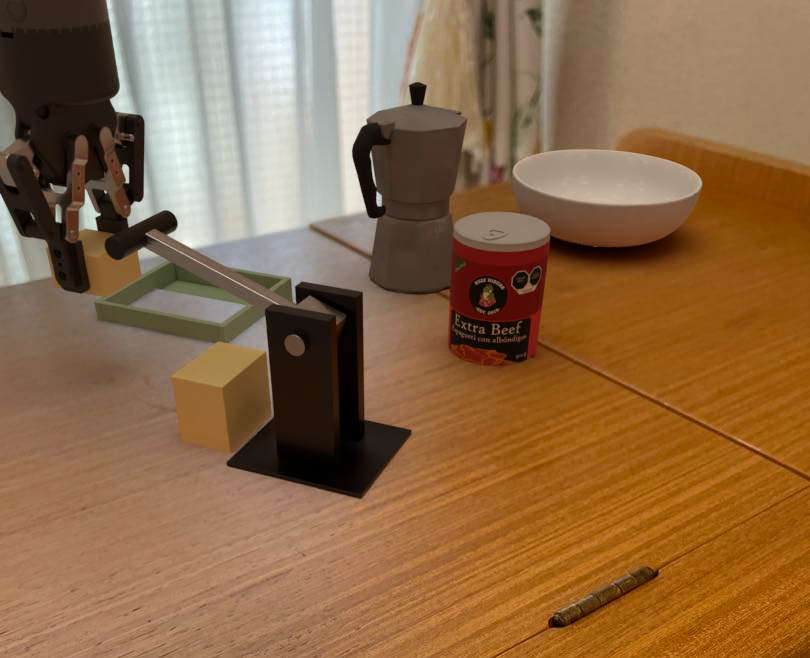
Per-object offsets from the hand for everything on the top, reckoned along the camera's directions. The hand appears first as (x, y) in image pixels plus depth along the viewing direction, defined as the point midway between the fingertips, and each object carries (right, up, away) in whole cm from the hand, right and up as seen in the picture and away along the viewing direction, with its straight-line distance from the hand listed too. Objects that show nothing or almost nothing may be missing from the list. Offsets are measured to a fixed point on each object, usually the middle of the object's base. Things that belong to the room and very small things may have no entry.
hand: (97, 277), depth 65 cm
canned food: (+30, -4, +11) cm, 32 cm away
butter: (+10, -12, -1) cm, 16 cm away
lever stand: (+17, -14, -3) cm, 22 cm away
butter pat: (0, 0, 0) cm, 0 cm away
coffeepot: (+23, +7, +24) cm, 34 cm away
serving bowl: (+45, +16, +36) cm, 60 cm away
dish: (+4, +1, +16) cm, 17 cm away
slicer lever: (+12, -4, -8) cm, 15 cm away
